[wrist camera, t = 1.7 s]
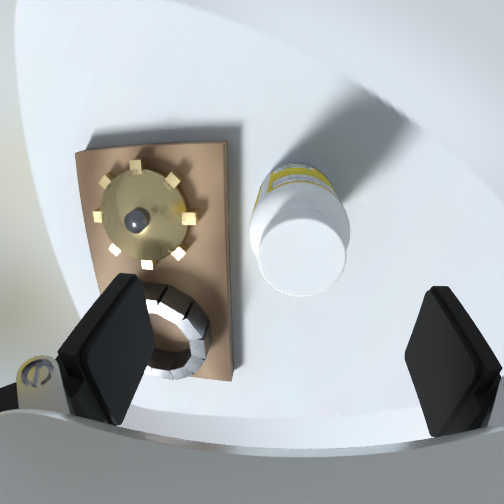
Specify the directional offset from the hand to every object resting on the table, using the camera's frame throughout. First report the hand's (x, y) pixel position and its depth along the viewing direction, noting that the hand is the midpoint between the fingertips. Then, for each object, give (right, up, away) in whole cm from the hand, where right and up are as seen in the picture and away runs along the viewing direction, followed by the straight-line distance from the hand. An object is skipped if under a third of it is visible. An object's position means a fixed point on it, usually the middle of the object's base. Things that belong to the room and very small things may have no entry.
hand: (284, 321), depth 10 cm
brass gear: (-9, +5, +13) cm, 17 cm away
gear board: (-9, 0, +17) cm, 19 cm away
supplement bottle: (+2, +6, +13) cm, 15 cm away
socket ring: (-9, -4, +18) cm, 20 cm away
